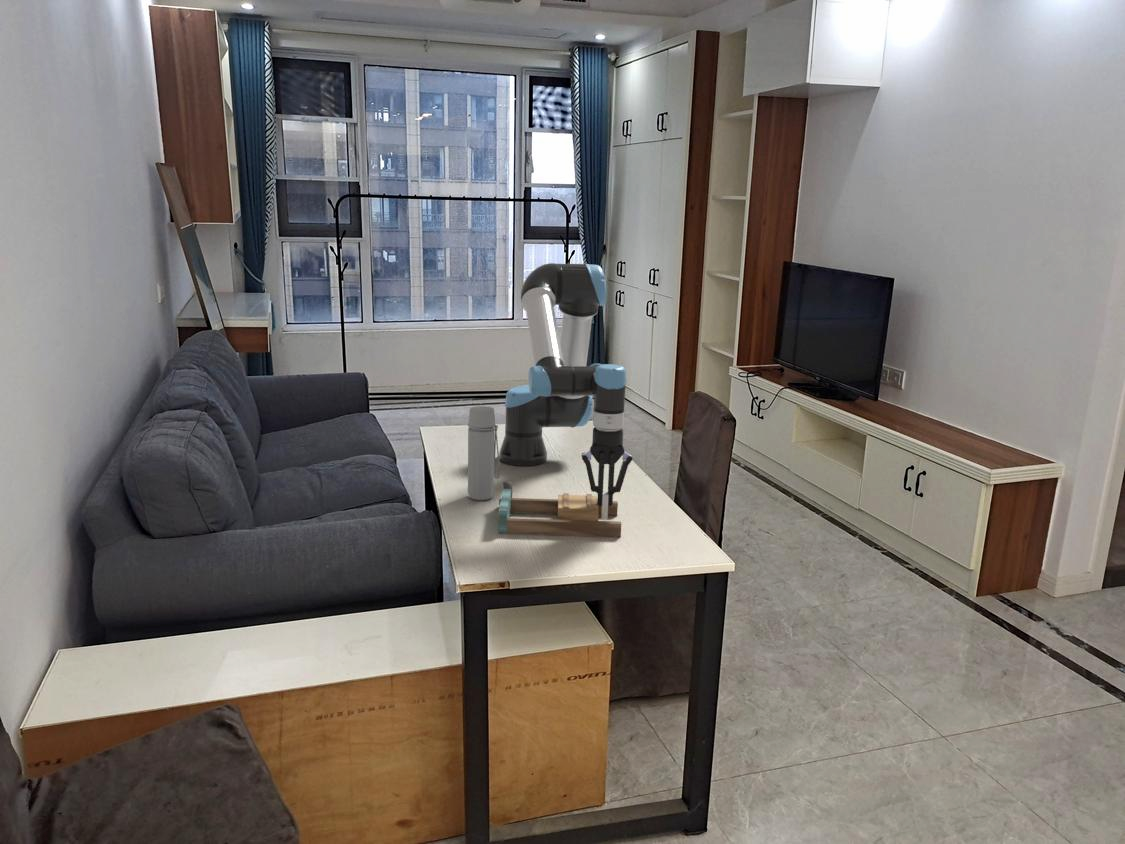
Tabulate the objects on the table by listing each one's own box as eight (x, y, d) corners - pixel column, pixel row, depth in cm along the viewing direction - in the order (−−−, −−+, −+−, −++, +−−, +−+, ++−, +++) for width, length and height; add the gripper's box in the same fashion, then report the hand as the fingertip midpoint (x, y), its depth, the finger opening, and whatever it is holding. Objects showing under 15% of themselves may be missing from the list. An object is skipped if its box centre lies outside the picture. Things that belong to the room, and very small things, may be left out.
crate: (557, 516, 217) (558, 493, 216) (595, 517, 217) (596, 494, 216) (557, 530, 208) (558, 506, 206) (597, 531, 208) (598, 507, 206)
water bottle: (473, 503, 223) (474, 413, 217) (463, 494, 230) (463, 406, 224) (505, 499, 227) (506, 410, 221) (493, 490, 234) (494, 403, 228)
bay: (499, 504, 223) (500, 479, 221) (615, 508, 223) (617, 483, 222) (493, 533, 204) (493, 506, 202) (620, 537, 204) (622, 510, 202)
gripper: (582, 430, 201) (579, 522, 207) (635, 432, 202) (631, 523, 207) (581, 423, 209) (578, 511, 215) (633, 424, 209) (628, 512, 215)
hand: (604, 517), depth 211 cm, fingers closed
